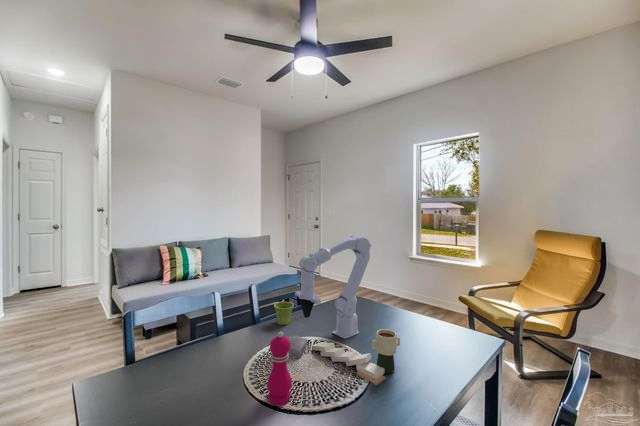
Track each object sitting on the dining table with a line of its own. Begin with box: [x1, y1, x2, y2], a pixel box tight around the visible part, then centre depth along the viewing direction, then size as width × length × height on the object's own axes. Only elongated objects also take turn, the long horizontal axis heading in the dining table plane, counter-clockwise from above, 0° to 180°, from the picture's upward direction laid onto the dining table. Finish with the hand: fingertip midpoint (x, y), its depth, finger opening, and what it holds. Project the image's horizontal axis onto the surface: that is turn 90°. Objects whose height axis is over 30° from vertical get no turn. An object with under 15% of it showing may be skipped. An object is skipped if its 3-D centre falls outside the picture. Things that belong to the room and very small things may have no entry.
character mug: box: [371, 328, 401, 374], centre depth 104 cm, size 11×7×13 cm, turn 108°
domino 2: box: [319, 347, 346, 358], centre depth 112 cm, size 5×2×8 cm
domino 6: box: [356, 370, 386, 386], centre depth 100 cm, size 5×2×8 cm
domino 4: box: [345, 352, 373, 367], centre depth 105 cm, size 5×2×8 cm
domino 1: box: [311, 341, 336, 352], centre depth 116 cm, size 5×2×8 cm
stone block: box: [287, 335, 308, 359], centre depth 117 cm, size 12×5×10 cm
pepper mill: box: [266, 331, 293, 406], centre depth 87 cm, size 7×7×20 cm
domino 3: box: [330, 351, 358, 363], centre depth 108 cm, size 5×2×8 cm
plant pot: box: [273, 301, 295, 326], centre depth 143 cm, size 9×9×9 cm
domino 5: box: [355, 360, 385, 380], centre depth 101 cm, size 5×2×8 cm
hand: (306, 316), depth 125 cm, fingers closed
